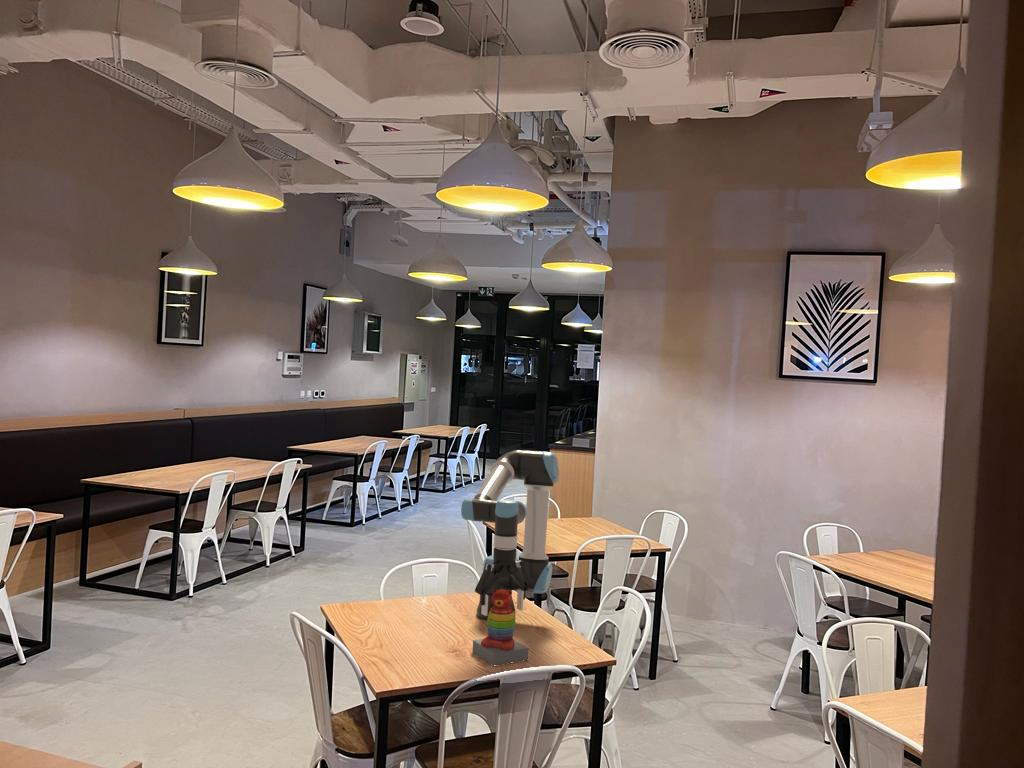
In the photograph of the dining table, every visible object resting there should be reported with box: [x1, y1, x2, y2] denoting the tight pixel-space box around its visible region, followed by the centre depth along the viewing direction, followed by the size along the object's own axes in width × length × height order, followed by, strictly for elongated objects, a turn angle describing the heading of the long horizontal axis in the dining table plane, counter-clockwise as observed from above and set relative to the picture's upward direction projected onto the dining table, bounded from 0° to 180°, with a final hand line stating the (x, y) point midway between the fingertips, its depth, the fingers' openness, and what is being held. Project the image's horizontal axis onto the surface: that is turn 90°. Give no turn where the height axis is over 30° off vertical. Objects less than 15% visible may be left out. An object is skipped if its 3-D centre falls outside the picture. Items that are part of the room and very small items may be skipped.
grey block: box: [472, 637, 530, 667], centre depth 237 cm, size 13×14×4 cm
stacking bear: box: [481, 589, 516, 650], centre depth 237 cm, size 11×10×18 cm
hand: (502, 612), depth 238 cm, fingers open, 13 cm apart
